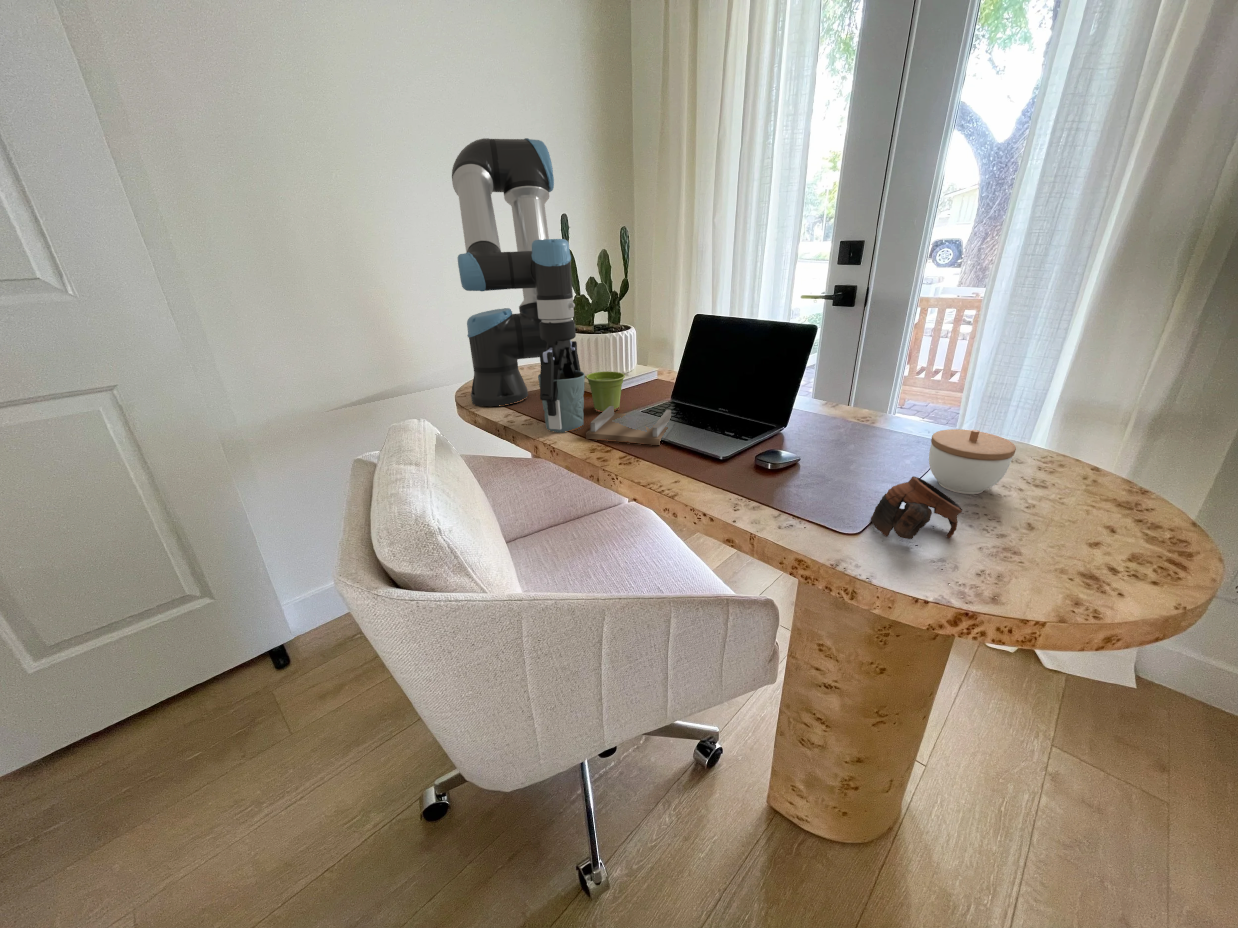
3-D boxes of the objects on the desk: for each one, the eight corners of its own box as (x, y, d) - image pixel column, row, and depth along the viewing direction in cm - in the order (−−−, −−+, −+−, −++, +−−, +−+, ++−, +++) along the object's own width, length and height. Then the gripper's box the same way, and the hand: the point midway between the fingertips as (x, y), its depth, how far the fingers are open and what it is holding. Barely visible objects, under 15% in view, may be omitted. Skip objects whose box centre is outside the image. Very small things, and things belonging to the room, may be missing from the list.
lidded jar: (1016, 503, 73) (1035, 445, 69) (936, 499, 75) (950, 442, 71) (982, 473, 82) (997, 420, 78) (912, 470, 84) (924, 418, 80)
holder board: (586, 439, 104) (585, 423, 102) (608, 418, 116) (608, 404, 114) (659, 446, 99) (659, 429, 97) (675, 423, 111) (675, 409, 109)
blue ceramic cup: (534, 428, 111) (528, 376, 106) (563, 416, 119) (559, 367, 114) (567, 436, 106) (563, 382, 101) (596, 423, 113) (593, 371, 108)
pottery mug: (867, 509, 74) (905, 466, 70) (925, 551, 70) (969, 508, 67) (860, 527, 63) (905, 478, 60) (929, 577, 60) (980, 528, 57)
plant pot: (610, 402, 128) (608, 369, 125) (633, 409, 122) (632, 375, 118) (580, 409, 123) (578, 375, 119) (604, 418, 116) (602, 382, 113)
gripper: (549, 328, 92) (559, 439, 101) (592, 313, 111) (598, 408, 120) (514, 327, 94) (527, 436, 103) (562, 313, 113) (570, 406, 122)
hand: (565, 421), depth 112 cm, fingers closed on blue ceramic cup, 9 cm apart
